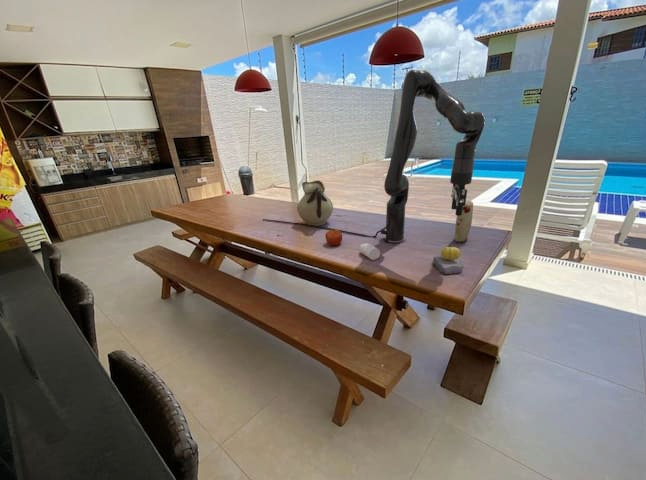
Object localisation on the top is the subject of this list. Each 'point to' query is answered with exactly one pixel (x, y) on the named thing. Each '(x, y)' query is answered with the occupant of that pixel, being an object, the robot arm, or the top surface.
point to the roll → (370, 251)
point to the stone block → (447, 265)
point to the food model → (464, 222)
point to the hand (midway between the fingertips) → (456, 212)
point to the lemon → (450, 253)
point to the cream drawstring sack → (314, 204)
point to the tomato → (333, 237)
